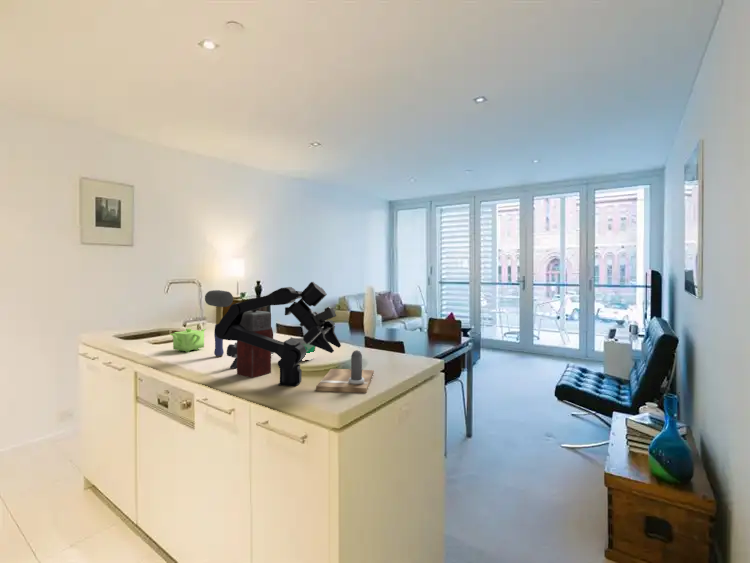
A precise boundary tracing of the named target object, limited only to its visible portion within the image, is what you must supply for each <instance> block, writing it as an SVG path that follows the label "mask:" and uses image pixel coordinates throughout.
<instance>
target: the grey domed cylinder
mask: <svg viewBox="0 0 750 563" xmlns="http://www.w3.org/2000/svg"><path fill="white" fill-rule="evenodd" d="M350 358H351V360H350V361H351V363H350V365H351V366H350V368H351V378H349V383H350V384H354V385H359V384H363V383H364V378H363V377H362V370H363V354H362V352H361V351H360V350H358V349H357V350H353V351H352V353H351V356H350Z"/></svg>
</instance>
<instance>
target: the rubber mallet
mask: <svg viewBox="0 0 750 563" xmlns="http://www.w3.org/2000/svg"><path fill="white" fill-rule="evenodd" d="M233 296H234V295H233V294H232V293H231V292H229V291H227V290H219V289H218V290H217V289H215V290H209V291H207V292H206V293H205V295H204V301H205V303H206V304H207V305H208V306H211V307H215V325H214V328H215V327H216V325H217V324H219V323H220V321H221V319H222V318H223V308H226V307H227V308H228V307H231V305H232V304H233V301H234V297H233ZM223 341H224V339H219V338H217V337H216V334H215V331H214V352H213V353H214V355H215V357H217V358H218V357H223V355H224V353H225V352H224V343H223Z"/></svg>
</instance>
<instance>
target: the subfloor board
mask: <svg viewBox="0 0 750 563" xmlns="http://www.w3.org/2000/svg"><path fill="white" fill-rule="evenodd" d="M374 372H375V371H374V369H362V377H363V378H364V383H363V384H359V385H354V384H350V383H349V378H351V369H347V368H346V369H345V368H330V369H329V371H327V373H326V374H325V375H324V377H322V379H321V380H320V381H319V382H318V383H317V385H316V388H315V391H316V392H339V393H340V392H341V393H360V394H361V393H362V394H363V393H364V394H365V393H366V394H367V392H368V390H369V388H368V387H370V384H371V382H372V380H371V379H373V377H374V375H373V374H375V373H374ZM372 376H373V377H372Z"/></svg>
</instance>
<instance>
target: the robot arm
mask: <svg viewBox="0 0 750 563" xmlns="http://www.w3.org/2000/svg"><path fill="white" fill-rule="evenodd" d="M326 296H327V293H326V291H325V290H324V289H323V287H321V286H319V285H318V284H316V282H314V281H311V282H309V284H308V285H307V286H306V287H305V288H304V290H301V291H299V290H296V289H295V288H293V287H291V286H287V287H280V288H278V289H276V290H274V291H272V292H270V293H269V294H266V295H264V296H261V297H257V298H252V299H249V300H246V301H241V302H237V303H232V304H231V305H230V306H229V308H228V310H227V312H226V313H225V314H224V315H223V316H222V319H221V321H220V323H219V324H217V325H216V324H215V325H216V327H215V326H214V332H215V334H216V337H217V338H219V339H223V341H224V340H226V341H236V342H237V341H241V342H244V343H247V344H250V345H253V346H256V347H259V348H262V349H265V350H267V351H270V352H273V354H276V355H277V356H278V357H279V358H280V359H279V360H278V361H277V366H278V368H279V382H278V383H277V385H278V386H284V387H285V386H287V387H289V386H290V387H291V386H292V387H296V386H298V385H299V384H300V383H302V381H303V380H302V377H303V376H302V370H303V369H301V365H300V364H301V362H302V361H301V360H302V359H303V358H304V357H305V355H306V348H305V346H304V345H302V344H300V343H301V342H297V341H294V340H293V339H290V338H288V339H286V340H284V341H280V340H277V339H275V338H273V339H272V338H269V337H266V336H263V335H261V334H258V333H255V332H252V331H249V330H246V329H245V328H244V327H243V326H242V325H240V323H241V320H242V316H243V314H244V312H248V311H251V310H255V309H259V310H260V309H261V308H266V307H269V306H281V305H288V304H290V306H285V307H284V310H285V311H284V316H289V315H291V314H292V316H294V317H295V319H296V320H297V321H298V323H299V326H300V327H304V328H305V329H306V331H307V332H305V333H304V335H302V336H303V337H302V338H303V340H304V341H305V343H306V344H308V343H310V342H311V340H312V342H311V343H310V345H313V346H316V347H315V348H319V349H322V350H323V351H326V352H328V353H330V354H332V353H334V352H335V350H334V348H333V347H332V345H334V347H337V348H339V349H340V348H341V347H342V344H341V342H340V340H339V339H338V337H337V335H336V333H335V328H336V325H335V324H336V322H334V321H333V320H332V319H333V318H335V317H337V314H336V309H334V307H331V306H328V307H325V308H324V311H322V312H318V311H313V310H312V309H311V308H310V307H316V306H317V305H318V304H319V303H320V302H322V300H323V299H325V297H326ZM296 300H297V301H296ZM331 344H332V345H331Z"/></svg>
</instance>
